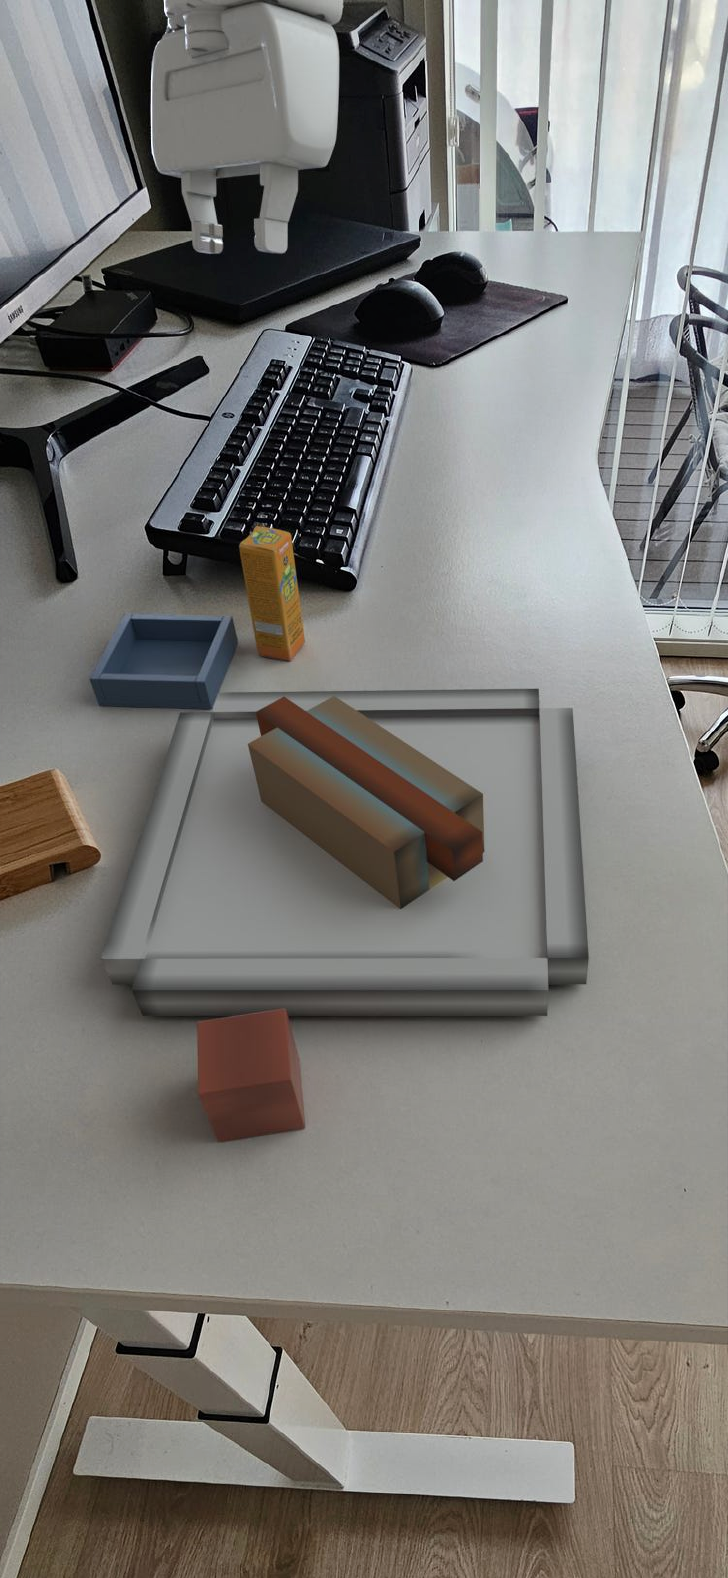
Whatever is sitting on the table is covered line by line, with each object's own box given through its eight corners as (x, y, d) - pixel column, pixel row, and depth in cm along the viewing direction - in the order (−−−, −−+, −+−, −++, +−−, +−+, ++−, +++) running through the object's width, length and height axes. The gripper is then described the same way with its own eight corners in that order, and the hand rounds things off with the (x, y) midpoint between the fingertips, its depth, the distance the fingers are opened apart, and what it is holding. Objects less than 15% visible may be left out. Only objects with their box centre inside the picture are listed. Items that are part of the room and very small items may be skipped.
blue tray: (98, 705, 85) (88, 678, 83) (132, 640, 91) (123, 613, 89) (211, 709, 85) (204, 681, 83) (238, 642, 91) (232, 615, 88)
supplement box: (294, 663, 88) (273, 549, 80) (257, 656, 89) (233, 543, 81) (309, 641, 90) (290, 529, 82) (274, 635, 91) (252, 523, 83)
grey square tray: (106, 1021, 65) (66, 941, 59) (195, 725, 83) (172, 642, 77) (587, 1022, 63) (595, 940, 58) (569, 721, 82) (574, 636, 76)
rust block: (218, 1142, 59) (197, 1094, 55) (216, 1072, 62) (196, 1021, 58) (305, 1128, 59) (291, 1079, 55) (299, 1059, 62) (285, 1007, 59)
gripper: (121, 2, 72) (136, 246, 79) (267, -54, 59) (268, 244, 66) (204, 26, 76) (211, 258, 83) (359, -22, 63) (351, 258, 70)
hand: (238, 252), depth 75 cm, fingers open, 8 cm apart
